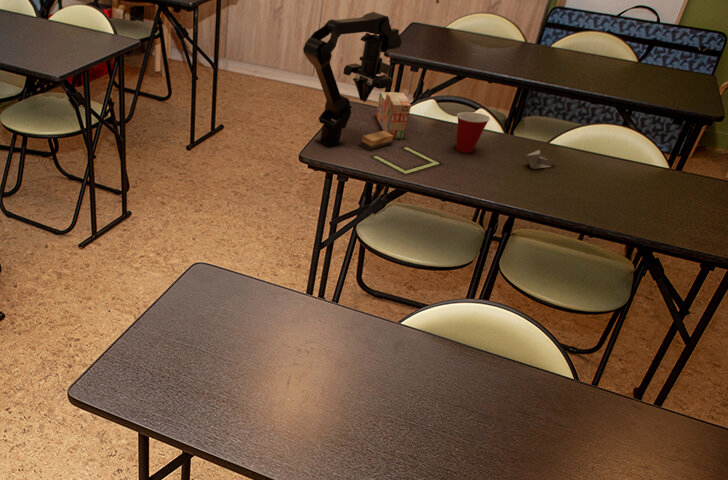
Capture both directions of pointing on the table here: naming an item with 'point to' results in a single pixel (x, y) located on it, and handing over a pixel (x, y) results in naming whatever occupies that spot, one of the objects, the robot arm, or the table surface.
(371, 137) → the chalkboard eraser
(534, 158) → the paper boat
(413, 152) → the tape box
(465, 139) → the plastic cup
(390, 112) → the tan printed boxy piece
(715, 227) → the table surface
